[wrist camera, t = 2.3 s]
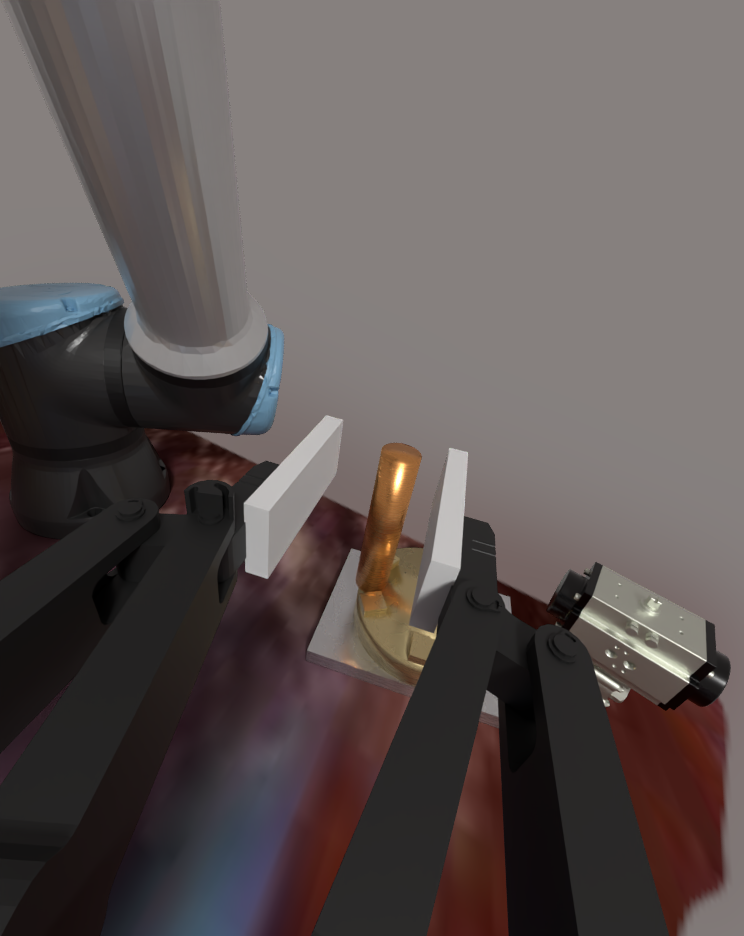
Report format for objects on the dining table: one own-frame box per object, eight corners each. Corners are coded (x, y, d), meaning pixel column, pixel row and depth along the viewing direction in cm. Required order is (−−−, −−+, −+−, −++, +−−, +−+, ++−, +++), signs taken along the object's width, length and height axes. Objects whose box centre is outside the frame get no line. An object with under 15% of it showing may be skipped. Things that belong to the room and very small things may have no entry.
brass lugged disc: (329, 656, 32) (358, 495, 23) (368, 552, 42) (398, 415, 33) (489, 712, 30) (590, 562, 21) (487, 588, 41) (552, 455, 32)
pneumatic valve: (532, 626, 40) (584, 543, 33) (656, 707, 34) (747, 627, 28) (514, 663, 36) (569, 577, 29) (651, 761, 30) (755, 682, 24)
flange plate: (305, 660, 33) (306, 650, 32) (349, 557, 44) (351, 548, 43) (513, 733, 30) (520, 724, 30) (505, 605, 41) (510, 596, 41)
